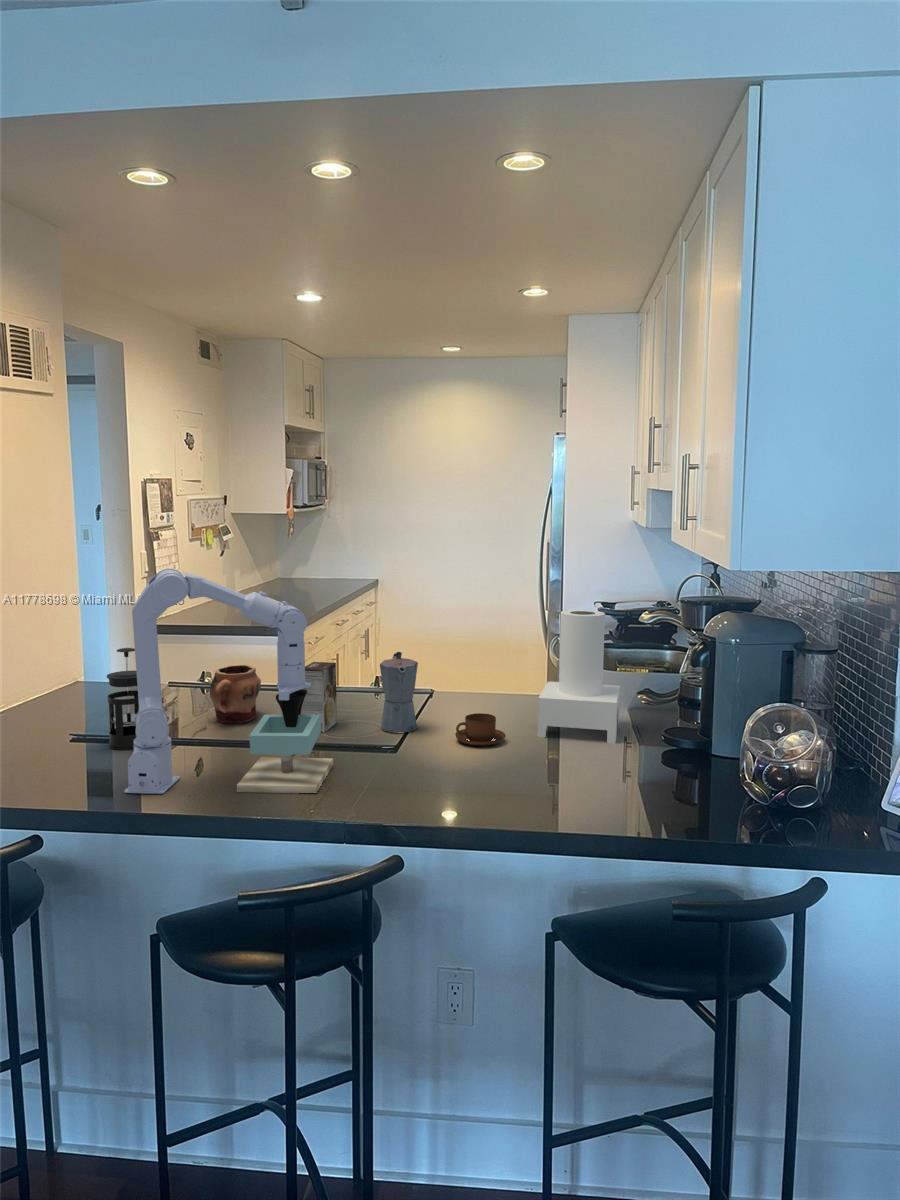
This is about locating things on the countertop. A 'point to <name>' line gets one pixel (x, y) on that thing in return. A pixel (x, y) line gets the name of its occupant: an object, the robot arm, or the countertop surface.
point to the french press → (121, 735)
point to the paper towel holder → (580, 679)
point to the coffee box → (321, 693)
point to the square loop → (285, 735)
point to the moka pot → (398, 694)
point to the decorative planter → (235, 693)
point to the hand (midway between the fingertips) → (292, 725)
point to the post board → (286, 775)
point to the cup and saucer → (479, 730)
